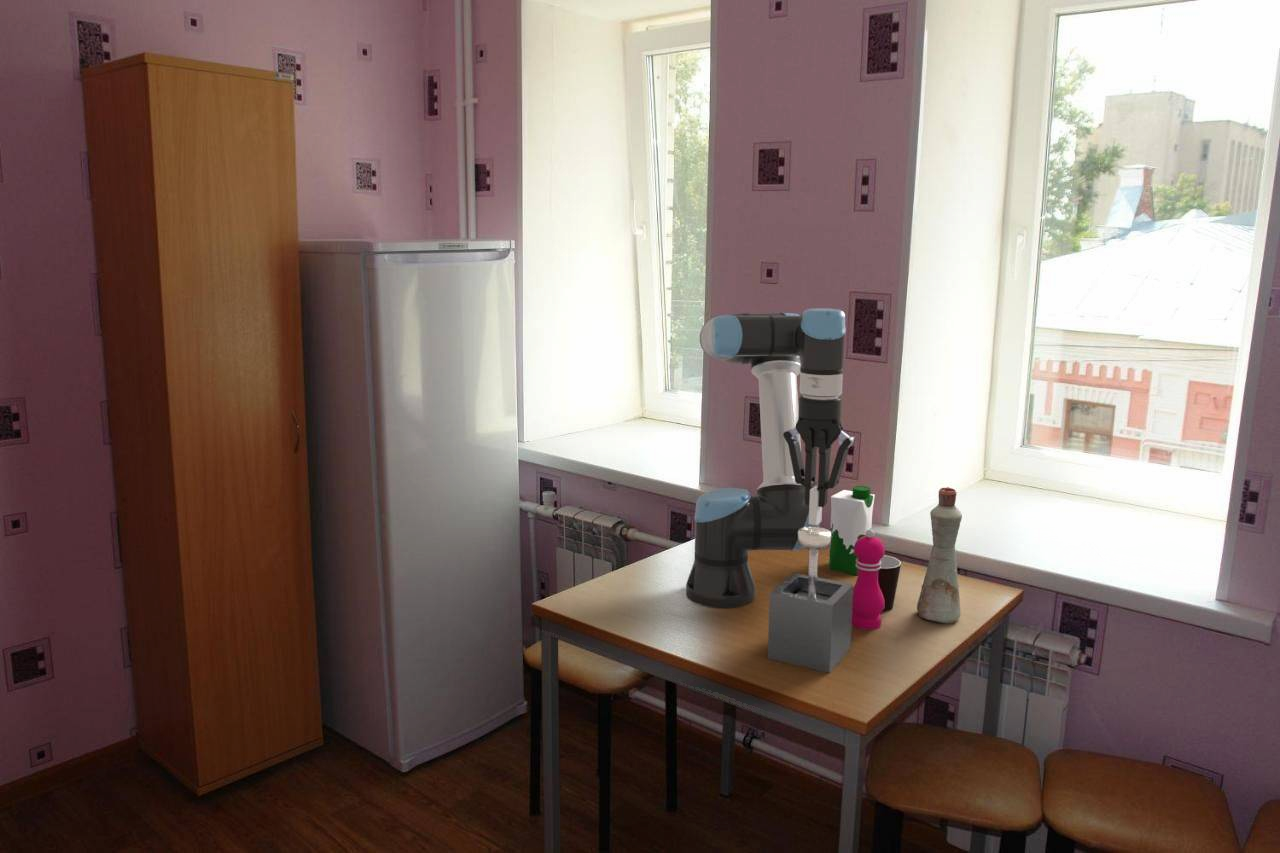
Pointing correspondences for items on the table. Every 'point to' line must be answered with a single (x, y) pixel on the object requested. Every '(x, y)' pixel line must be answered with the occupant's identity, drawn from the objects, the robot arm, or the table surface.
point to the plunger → (813, 555)
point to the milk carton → (849, 526)
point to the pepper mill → (868, 583)
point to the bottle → (942, 563)
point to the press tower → (810, 623)
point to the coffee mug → (889, 580)
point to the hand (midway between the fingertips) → (815, 522)
